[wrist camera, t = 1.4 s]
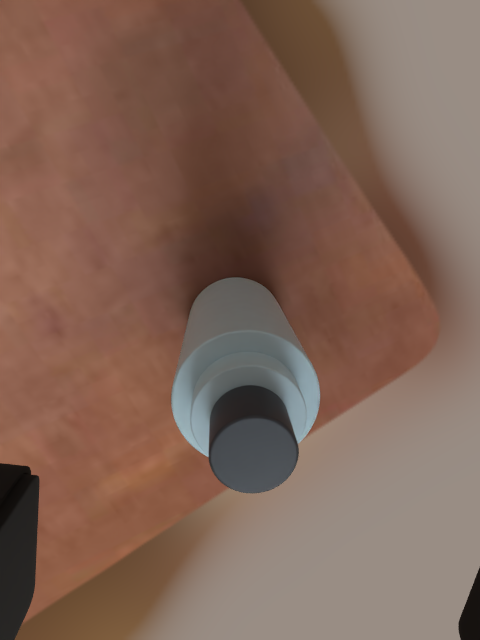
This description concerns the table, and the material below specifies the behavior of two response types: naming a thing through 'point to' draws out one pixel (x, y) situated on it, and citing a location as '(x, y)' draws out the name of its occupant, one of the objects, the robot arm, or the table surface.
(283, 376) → the loose bottle
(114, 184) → the table surface
